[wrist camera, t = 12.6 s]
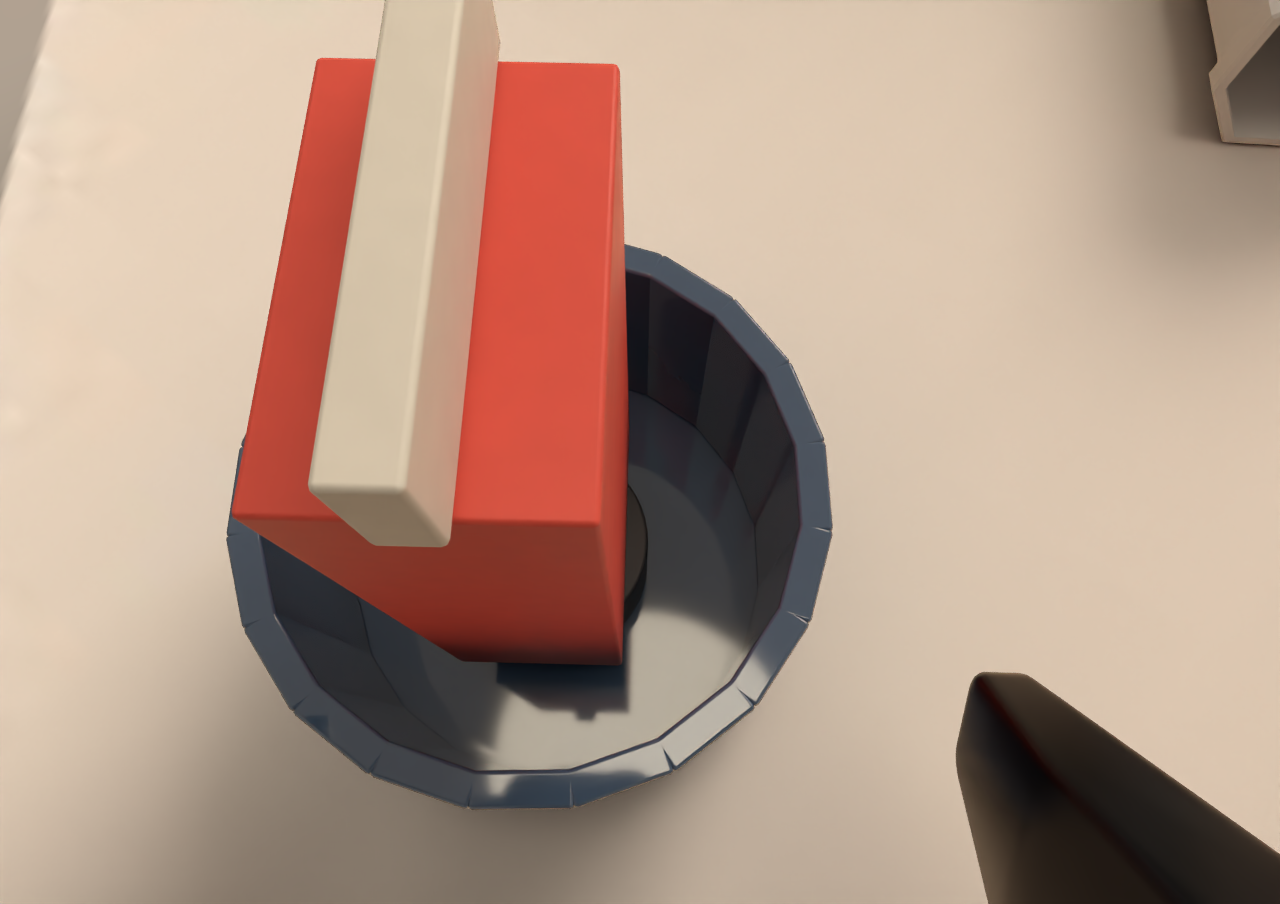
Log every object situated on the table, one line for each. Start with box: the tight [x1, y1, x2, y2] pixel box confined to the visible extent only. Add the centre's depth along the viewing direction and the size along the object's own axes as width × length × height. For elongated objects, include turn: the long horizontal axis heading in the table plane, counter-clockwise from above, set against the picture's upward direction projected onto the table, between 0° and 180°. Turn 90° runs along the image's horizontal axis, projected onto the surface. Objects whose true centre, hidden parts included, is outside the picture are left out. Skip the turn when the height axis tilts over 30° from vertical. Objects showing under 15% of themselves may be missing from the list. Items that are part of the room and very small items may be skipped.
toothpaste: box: [232, 0, 648, 665], centre depth 12 cm, size 5×4×13 cm
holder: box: [226, 244, 833, 810], centre depth 16 cm, size 9×9×6 cm
